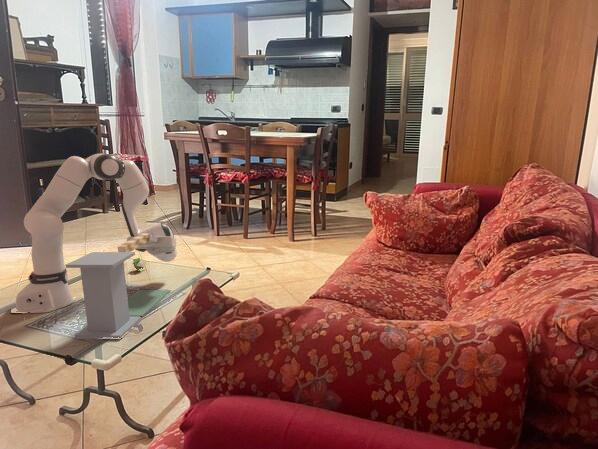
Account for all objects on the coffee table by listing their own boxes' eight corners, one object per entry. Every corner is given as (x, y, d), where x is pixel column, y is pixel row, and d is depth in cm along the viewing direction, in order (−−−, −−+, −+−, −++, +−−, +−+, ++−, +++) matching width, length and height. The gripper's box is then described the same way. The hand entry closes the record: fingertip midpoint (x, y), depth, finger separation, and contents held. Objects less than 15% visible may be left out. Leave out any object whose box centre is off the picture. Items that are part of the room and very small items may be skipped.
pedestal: (100, 319, 166) (92, 252, 161) (141, 320, 164) (134, 252, 159) (75, 339, 150) (65, 264, 145) (120, 339, 149) (112, 264, 144)
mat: (139, 291, 196) (139, 290, 196) (170, 291, 195) (170, 290, 194) (107, 316, 169) (106, 315, 168) (142, 317, 167) (142, 315, 167)
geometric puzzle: (126, 267, 226) (131, 256, 222) (136, 263, 231) (142, 253, 228) (134, 277, 224) (140, 266, 220) (145, 273, 230) (151, 262, 226)
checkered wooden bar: (143, 240, 188) (142, 233, 187) (150, 240, 187) (149, 233, 187) (118, 254, 166) (117, 246, 166) (126, 254, 166) (125, 246, 165)
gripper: (135, 239, 200) (120, 230, 187) (179, 239, 198) (168, 229, 185) (133, 253, 198) (118, 244, 185) (178, 252, 196) (166, 244, 183)
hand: (143, 237), depth 185 cm, fingers closed on checkered wooden bar, 3 cm apart
